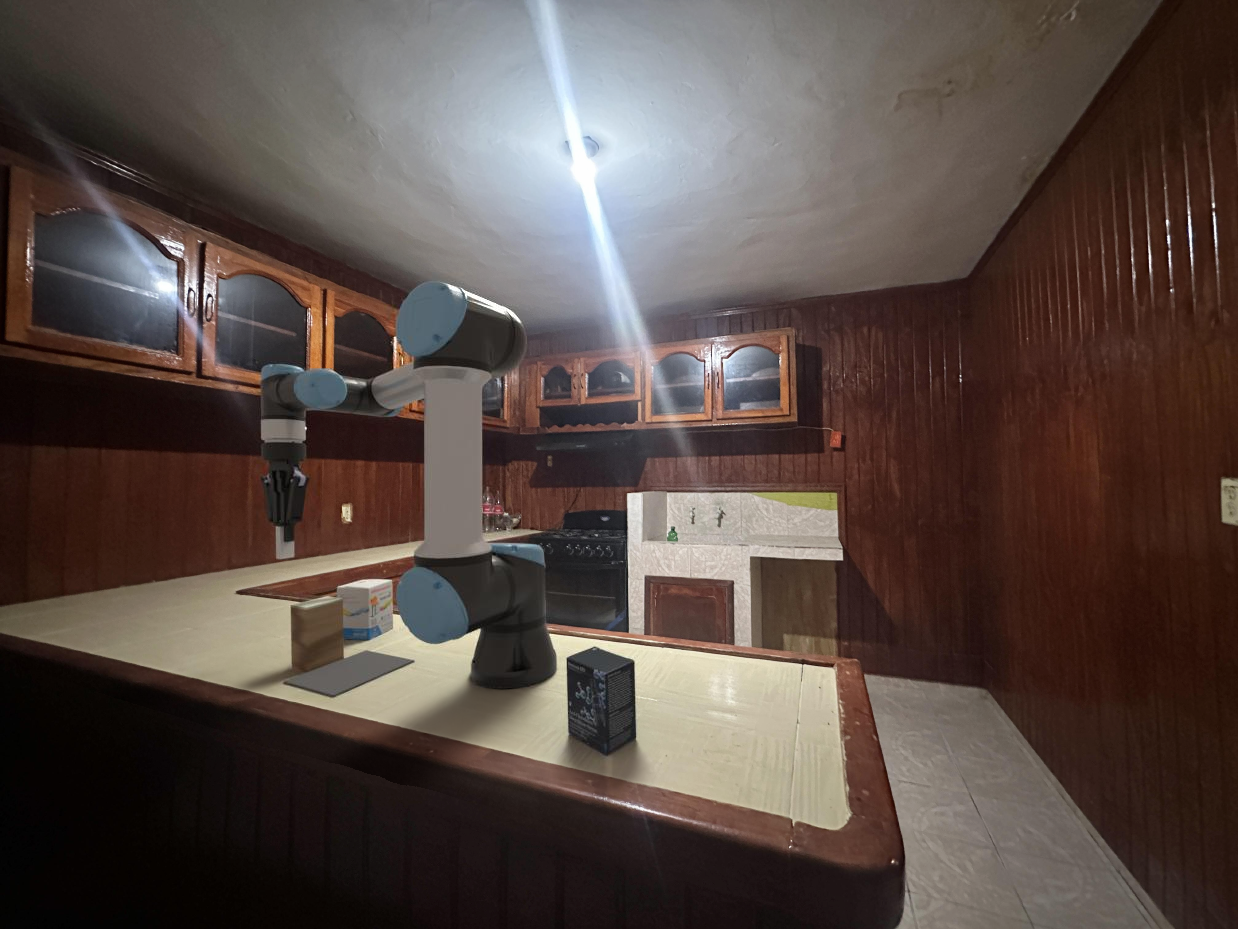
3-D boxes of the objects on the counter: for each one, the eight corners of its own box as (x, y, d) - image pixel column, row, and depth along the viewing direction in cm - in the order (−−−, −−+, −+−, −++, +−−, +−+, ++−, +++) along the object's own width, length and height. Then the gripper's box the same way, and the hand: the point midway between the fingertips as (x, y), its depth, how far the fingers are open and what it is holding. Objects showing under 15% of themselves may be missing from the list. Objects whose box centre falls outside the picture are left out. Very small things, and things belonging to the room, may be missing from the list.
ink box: (369, 640, 107) (368, 587, 107) (335, 639, 108) (335, 586, 109) (394, 628, 115) (393, 578, 115) (363, 627, 117) (362, 578, 117)
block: (343, 659, 96) (342, 598, 96) (307, 672, 90) (306, 607, 90) (327, 655, 98) (326, 596, 98) (291, 668, 92) (290, 605, 92)
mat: (414, 661, 94) (414, 660, 94) (333, 697, 79) (333, 695, 79) (366, 651, 100) (366, 650, 100) (283, 682, 85) (283, 681, 85)
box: (567, 735, 66) (565, 656, 66) (597, 719, 70) (595, 645, 70) (607, 758, 60) (604, 672, 60) (638, 739, 64) (635, 658, 64)
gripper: (322, 441, 100) (323, 556, 99) (284, 444, 105) (286, 553, 105) (283, 439, 93) (284, 563, 93) (245, 442, 99) (246, 559, 98)
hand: (285, 557), depth 99 cm, fingers closed
